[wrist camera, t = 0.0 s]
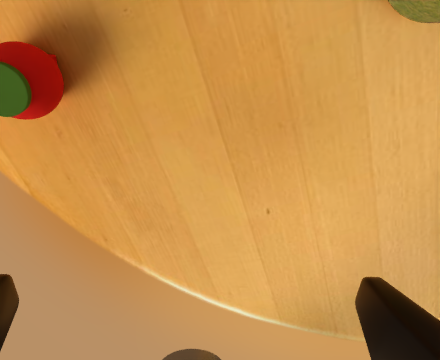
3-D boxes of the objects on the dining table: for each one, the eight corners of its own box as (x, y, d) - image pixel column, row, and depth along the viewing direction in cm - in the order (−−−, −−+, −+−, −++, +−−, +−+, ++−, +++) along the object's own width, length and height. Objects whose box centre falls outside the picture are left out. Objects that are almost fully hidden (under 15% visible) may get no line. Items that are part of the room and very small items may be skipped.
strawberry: (79, 109, 20) (50, 131, 17) (12, 107, 20) (-31, 129, 16) (68, 40, 19) (33, 47, 15) (-5, 37, 18) (-59, 43, 15)
